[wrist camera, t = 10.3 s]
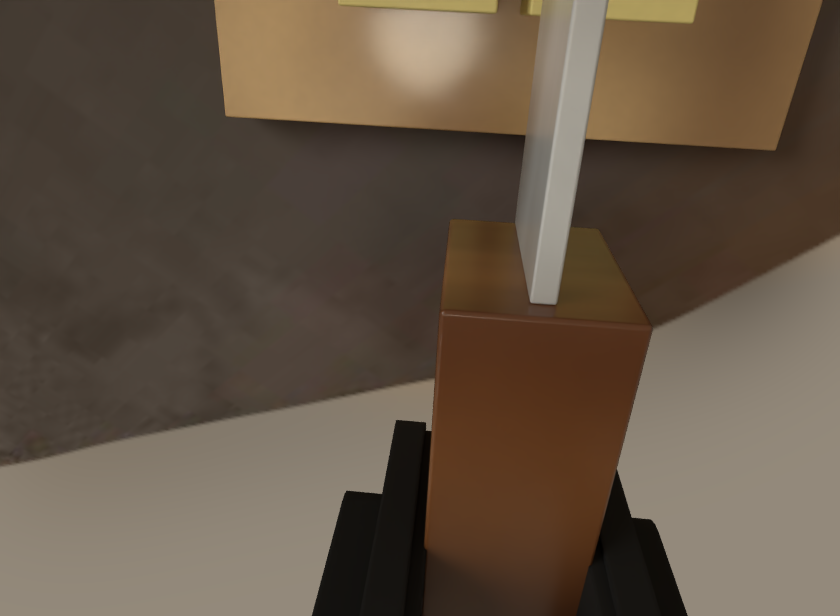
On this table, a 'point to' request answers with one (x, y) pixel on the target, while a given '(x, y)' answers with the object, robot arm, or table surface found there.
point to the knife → (531, 366)
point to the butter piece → (429, 5)
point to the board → (515, 69)
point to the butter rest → (635, 10)
